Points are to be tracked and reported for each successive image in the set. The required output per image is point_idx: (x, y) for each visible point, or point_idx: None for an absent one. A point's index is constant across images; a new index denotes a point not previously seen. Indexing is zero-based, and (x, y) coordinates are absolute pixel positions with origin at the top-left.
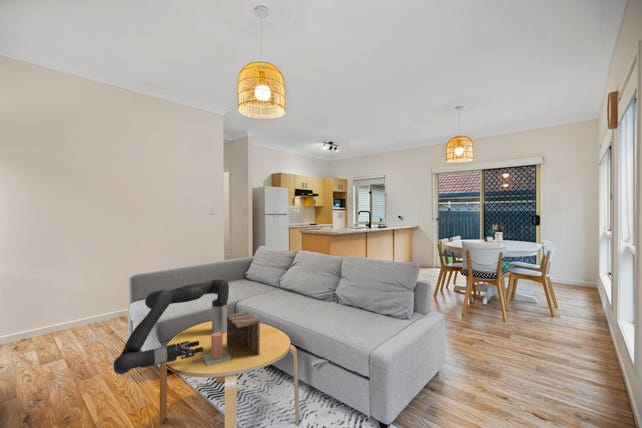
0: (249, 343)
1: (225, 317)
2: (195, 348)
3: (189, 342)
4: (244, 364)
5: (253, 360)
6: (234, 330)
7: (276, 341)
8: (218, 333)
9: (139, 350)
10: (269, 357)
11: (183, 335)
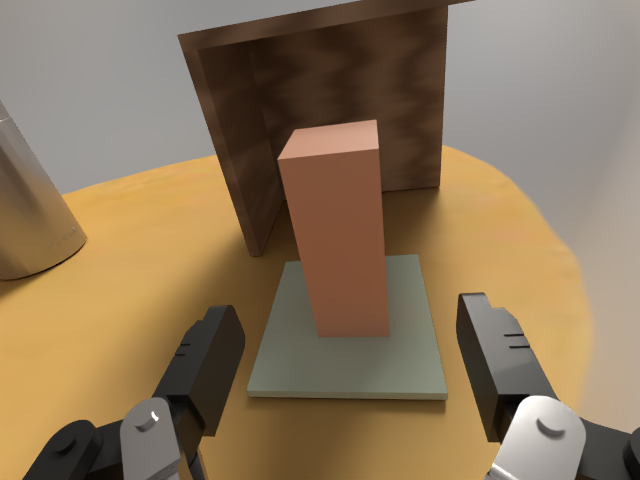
0: None
1: (39, 163)
2: (504, 384)
3: (147, 423)
4: (517, 228)
5: (483, 201)
6: (246, 147)
7: None
8: (322, 133)
9: None
10: (478, 167)
11: None
